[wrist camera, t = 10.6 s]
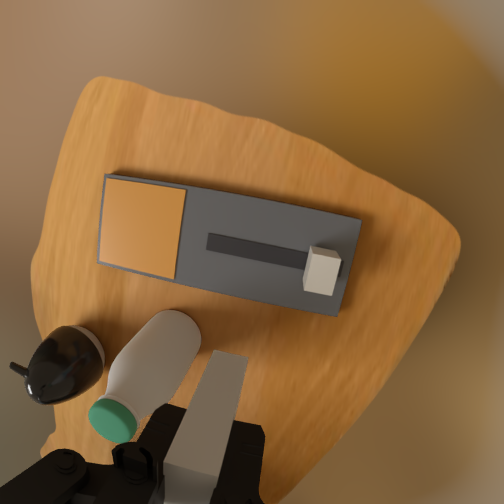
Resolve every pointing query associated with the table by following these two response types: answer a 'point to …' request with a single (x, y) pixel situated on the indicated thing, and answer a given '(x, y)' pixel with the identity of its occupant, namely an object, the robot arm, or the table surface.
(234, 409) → the robot arm
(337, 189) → the table surface
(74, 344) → the pump dispenser
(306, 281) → the handle
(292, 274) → the board
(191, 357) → the milk bottle
